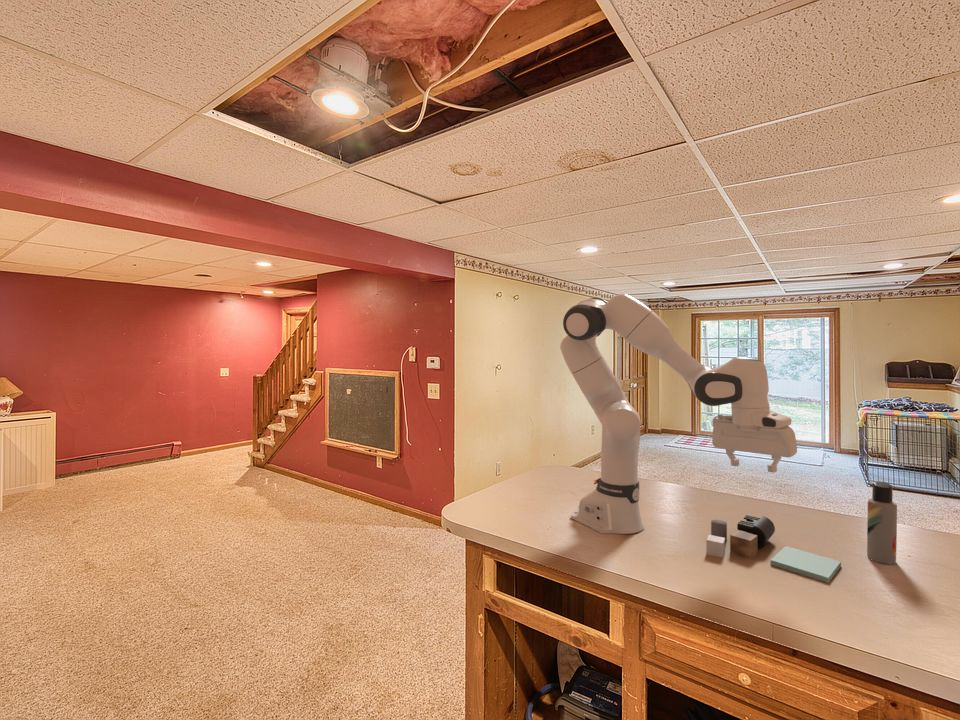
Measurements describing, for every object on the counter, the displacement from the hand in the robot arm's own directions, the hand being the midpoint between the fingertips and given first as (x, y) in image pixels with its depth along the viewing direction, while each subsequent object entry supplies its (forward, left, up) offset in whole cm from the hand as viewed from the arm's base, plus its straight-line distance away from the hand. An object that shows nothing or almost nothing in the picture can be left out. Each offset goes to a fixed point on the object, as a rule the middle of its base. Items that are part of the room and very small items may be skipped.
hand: (753, 468), depth 122 cm
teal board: (+11, +2, -23) cm, 26 cm away
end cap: (-2, +7, -23) cm, 24 cm away
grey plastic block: (-7, -7, -23) cm, 25 cm away
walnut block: (-2, -2, -23) cm, 23 cm away
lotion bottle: (+23, +20, -23) cm, 39 cm away
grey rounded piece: (-10, +2, -23) cm, 25 cm away
